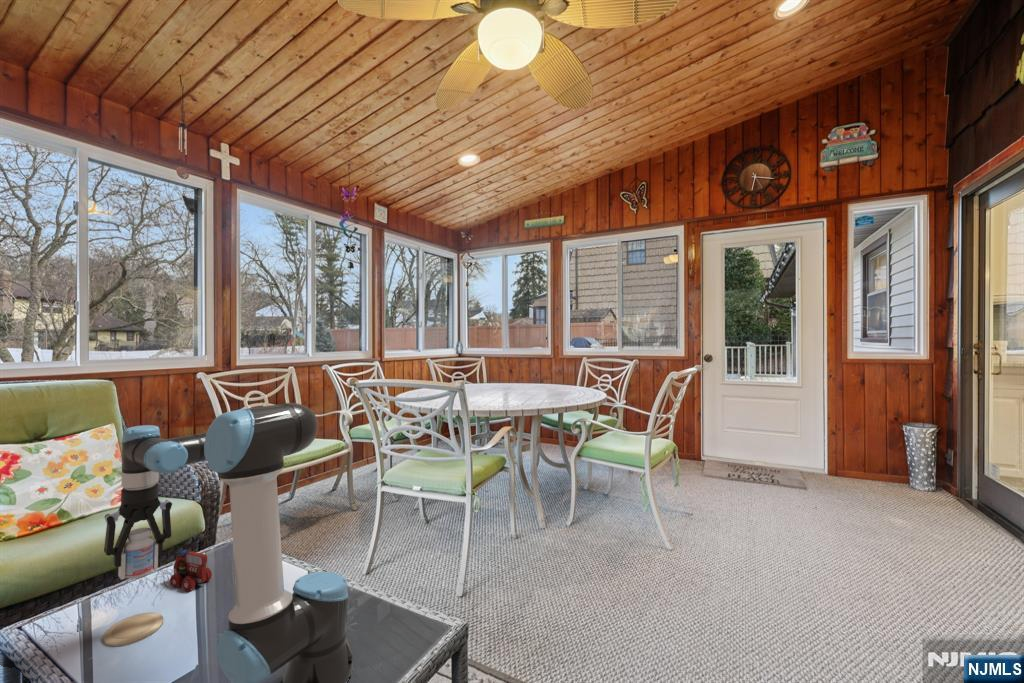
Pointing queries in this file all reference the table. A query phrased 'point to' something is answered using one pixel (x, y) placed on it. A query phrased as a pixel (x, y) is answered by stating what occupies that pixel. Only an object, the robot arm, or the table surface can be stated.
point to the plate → (133, 629)
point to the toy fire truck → (190, 570)
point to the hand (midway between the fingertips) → (138, 571)
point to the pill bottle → (139, 553)
